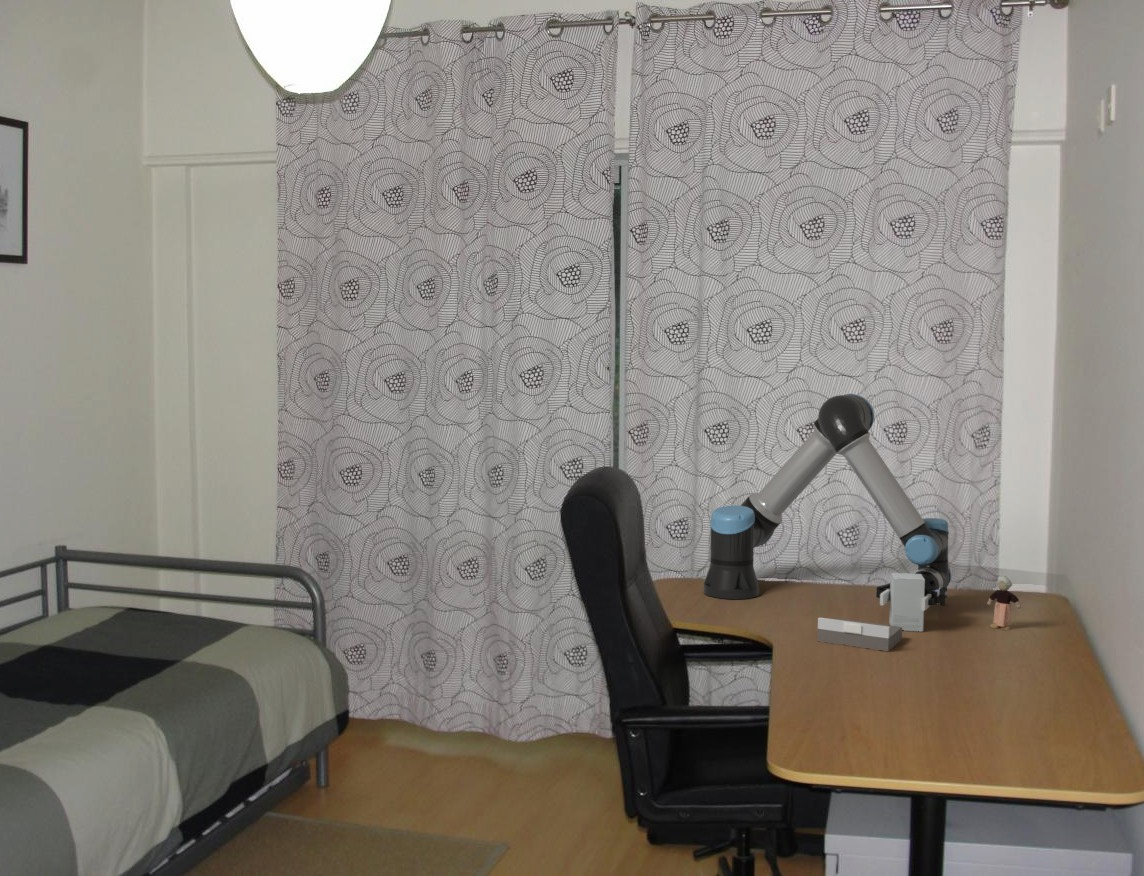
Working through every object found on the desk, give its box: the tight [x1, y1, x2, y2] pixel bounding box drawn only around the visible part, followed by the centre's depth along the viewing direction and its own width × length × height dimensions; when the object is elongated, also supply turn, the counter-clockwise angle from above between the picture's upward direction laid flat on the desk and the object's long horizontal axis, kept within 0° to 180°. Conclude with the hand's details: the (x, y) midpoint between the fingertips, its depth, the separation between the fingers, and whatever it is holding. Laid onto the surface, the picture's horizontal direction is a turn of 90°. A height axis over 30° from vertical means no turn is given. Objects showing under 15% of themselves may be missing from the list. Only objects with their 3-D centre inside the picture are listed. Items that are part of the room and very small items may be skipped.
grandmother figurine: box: [987, 575, 1022, 631], centre depth 261 cm, size 8×4×13 cm, turn 62°
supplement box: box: [888, 572, 925, 633], centre depth 261 cm, size 7×7×13 cm
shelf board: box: [817, 617, 903, 652], centre depth 248 cm, size 16×12×5 cm
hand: (902, 602), depth 257 cm, fingers closed on supplement box, 9 cm apart
